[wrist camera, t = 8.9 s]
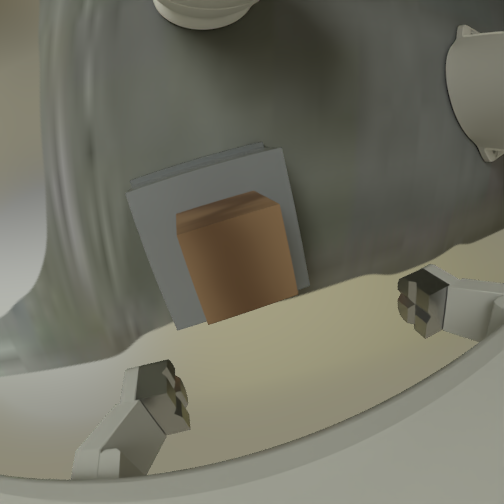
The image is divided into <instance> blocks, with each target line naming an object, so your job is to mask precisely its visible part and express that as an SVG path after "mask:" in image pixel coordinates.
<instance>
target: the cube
mask: <svg viewBox="0 0 504 504" xmlns="http://www.w3.org/2000/svg"><path fill="white" fill-rule="evenodd" d="M176 231H177V238H178V241H179V244H180V247H181V250H182V253H183V256H184V259H185V262H186V265H187V268H188V270H189V273H190V276H191V279H192V282H193V285H194V287H195V290H196V293H197V296H198V299H199V301H200V304H201V307H202V309H203V312H204V315H205V317H206V320H207V322H208V325H209V324H213V323H216V322H219V321H222V320H225V319H228V318H231V317H234V316H237V315H240V314H243V313H246V312H249V311H252V310H255V309H258V308H261V307H264V306H267V305H270V304H272V303H275V302H278V301H281V300H284V299H287V298H289V297H292V296H295V295H298V290H297V285H296V280H295V275H294V270H293V265H292V260H291V255H290V250H289V246H288V241H287V236H286V231H285V227H284V222H283V217H282V213H281V208H280V204H278V203H277V202H275V201H273V200H271V199H269V198H267V197H265V196H263V195H261V194H259V193H258V192H256V191H250V192H247V193H243V194H240V195H236V196H233V197H229V198H226V199H223V200H219V201H216V202H212V203H209V204H206V205H203V206H199V207H196V208H193V209H190V210H187V211H183V212H180V213H177V214H176Z"/></svg>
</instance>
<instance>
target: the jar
mask: <svg viewBox="0 0 504 504" xmlns="http://www.w3.org/2000/svg"><path fill="white" fill-rule="evenodd" d="M258 1H259V0H153V2H154V5H155V7H156V9H157V10H158V12H159V13H160V14H161V15H162V16H163V17H164V18H165V19H167V20H168V21H170V22H172V23H174V24H176V25H178V26H181V27H185V28H189V29H197V30H208V29H216V28H220V27H224V26H227V25H229V24H232V23H234V22H235V21H237V20H239V19H240V18H241V17H243V16H244V15H245V14H246V13H247V11H248V10H249V9H250V7H251V6H252V5H254V4H255V3H257V2H258Z"/></svg>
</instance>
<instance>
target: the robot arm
mask: <svg viewBox="0 0 504 504" xmlns="http://www.w3.org/2000/svg"><path fill="white" fill-rule="evenodd" d="M446 81H447V88H448V93H449V97H450V101H451V104H452V107H453V110H454V113H455V115H456V117H457V120H458V122H459V124H460V125H461V127H462V129H463V130H464V132H465V133H466V135H467V136H468V137H469V138H470V139H471V140H472V141H473V142H474V143H475V144H476V145H477V147H478V149H479V151H480V154H481V156H482V158H483V160H484V161H485V162H493V161H494V160H496V159H497V158H498V157H500V156H501V155H503V154H504V31H502V32H489V33H479V32H477V31H475V30H474V29H472V28H470V27H469V26H467V25H459V26H458V29H457V37H456V40H455V42H454V43H453V45H452V46H451V47H450V49H449V52H448V55H447V60H446ZM398 290H399V291H400V293H401V294H400V296H399V298H398V309H399V312H400V315H401V317H402V318H403V319H404V320H405V321H406V322H407V323H410V324H414V329H415V330H416V331H417V332H418V333H419V334H421V335H422V336H423V337H424V338H425V339H426V338H428V337H430V336H431V335H433V334H435V333H437V332H439V331H440V330H442V329H443V331H446V332H449V333H452V334H456V335H459V336H462V337H465V338H468V339H471V340H474V341H477V342H479V343H478V344H477V345H475V346H474V347H473V348H471V349H470V350H468V351H467V352H465V353H464V354H462V355H461V356H460V357H459V358H457V359H455V360H454V361H452V362H451V363H449V364H448V365H446V366H445V367H443V368H441V369H440V370H438V371H437V372H435V373H433V374H432V375H430V376H429V377H427V378H425V379H424V380H422V381H420V382H419V383H417V384H415V385H414V386H412V387H410V388H408V389H406V390H404V391H403V392H401V393H399V394H397V395H396V396H393V397H392V398H390V399H388V400H386V401H384V402H382V403H380V404H378V405H376V406H374V407H372V408H370V409H368V410H366V411H364V412H362V413H360V414H357V415H355V416H353V417H351V418H348V419H346V420H344V421H342V422H339V423H337V424H334V425H332V426H330V427H327V428H325V429H323V430H320V431H317V432H315V433H312V434H309V435H307V436H304V437H301V438H299V439H296V440H293V441H290V442H287V443H285V444H281V445H278V446H275V447H272V448H269V449H266V450H263V451H259V452H256V453H252V454H249V455H245V456H242V457H238V458H234V459H230V460H226V461H222V462H218V463H214V464H209V465H204V466H199V467H195V468H190V469H184V470H178V471H172V472H166V473H160V474H152V475H147V473H148V471H149V469H150V467H151V465H152V463H153V461H154V460H155V458H156V456H157V454H158V452H159V450H160V448H161V446H162V444H163V442H164V440H165V439H166V435H169V434H174V433H178V432H182V431H186V430H190V419H189V413H188V412H187V410H186V407H187V405H188V398H187V394H186V390H185V387H184V385H183V383H182V381H181V379H180V378H179V377H177V376H175V368H174V366H173V364H172V363H171V361H170V360H163V361H160V362H155V363H151V364H147V365H142V366H138V367H134V368H130V369H127V370H126V371H125V374H124V380H123V386H122V392H121V399H120V404H116V405H115V406H114V407H113V408H112V409H111V411H110V412H109V413H108V414H107V415H106V416H105V418H104V419H103V420H102V421H101V422H100V423H99V425H98V426H97V427H96V428H95V429H94V430H93V432H92V433H91V434H90V435H89V436H88V437H87V439H86V440H85V441H84V442H83V443H82V444H81V445H80V447H79V448H78V449H77V450H76V452H75V458H74V463H73V469H72V475H71V480H57V479H35V478H23V477H14V476H6V475H0V504H504V283H497V282H489V281H480V280H472V279H461V280H460V279H458V278H456V277H454V276H453V275H451V274H449V273H447V272H446V271H444V270H442V269H441V268H439V267H437V266H436V265H433V264H429V265H427V266H425V267H424V268H421V269H420V270H418V271H416V272H414V273H411V274H409V275H407V276H405V277H403V278H401V279H399V282H398Z"/></svg>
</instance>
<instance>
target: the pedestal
mask: <svg viewBox="0 0 504 504" xmlns="http://www.w3.org/2000/svg"><path fill="white" fill-rule="evenodd" d="M130 183H131V186H132V188H131V189H130V190H128V191H127V192H126V193H125V194H126V197H127V200H128V203H129V206H130V209H131V212H132V215H133V218H134V221H135V224H136V227H137V230H138V233H139V235H140V238H141V241H142V244H143V246H144V249H145V252H146V254H147V257H148V260H149V262H150V265H151V268H152V270H153V273H154V275H155V278H156V280H157V283H158V285H159V288H160V290H161V293H162V295H163V298H164V300H165V302H166V305H167V307H168V310H169V312H170V314H171V317H172V319H173V321H174V323H175V326H176V328H177V330H180V329H184V328H187V327H190V326H193V325H197V324H200V323H203V322H206V321H207V320H206V317H205V315H204V312H203V309H202V307H201V304H200V301H199V299H198V296H197V293H196V290H195V287H194V285H193V282H192V279H191V276H190V273H189V270H188V268H187V265H186V262H185V259H184V256H183V253H182V250H181V247H180V244H179V241H178V238H177V231H176V214H177V213H180V212H183V211H187V210H190V209H193V208H196V207H199V206H203V205H206V204H209V203H212V202H216V201H219V200H223V199H226V198H229V197H233V196H236V195H240V194H243V193H247V192H250V191H256V192H258V193H259V194H261V195H263V196H265V197H267V198H269V199H271V200H273V201H275V202H277V203H278V204H280V208H281V213H282V217H283V222H284V227H285V231H286V236H287V241H288V246H289V250H290V255H291V260H292V265H293V270H294V275H295V280H296V285H297V290H300V289H303V288H305V287H308V286H310V283H309V278H308V272H307V267H306V261H305V256H304V251H303V245H302V240H301V235H300V230H299V225H298V220H297V215H296V210H295V205H294V201H293V196H292V191H291V187H290V182H289V177H288V173H287V168H286V164H285V160H284V155H283V151H282V147H264V145H263V142H258V143H254V144H250V145H246V146H242V147H238V148H234V149H230V150H226V151H222V152H219V153H215V154H212V155H208V156H205V157H201V158H198V159H194V160H191V161H187V162H184V163H181V164H178V165H174V166H171V167H168V168H165V169H162V170H159V171H156V172H153V173H150V174H147V175H144V176H141V177H138V178H135V179H132V180H130Z"/></svg>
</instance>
